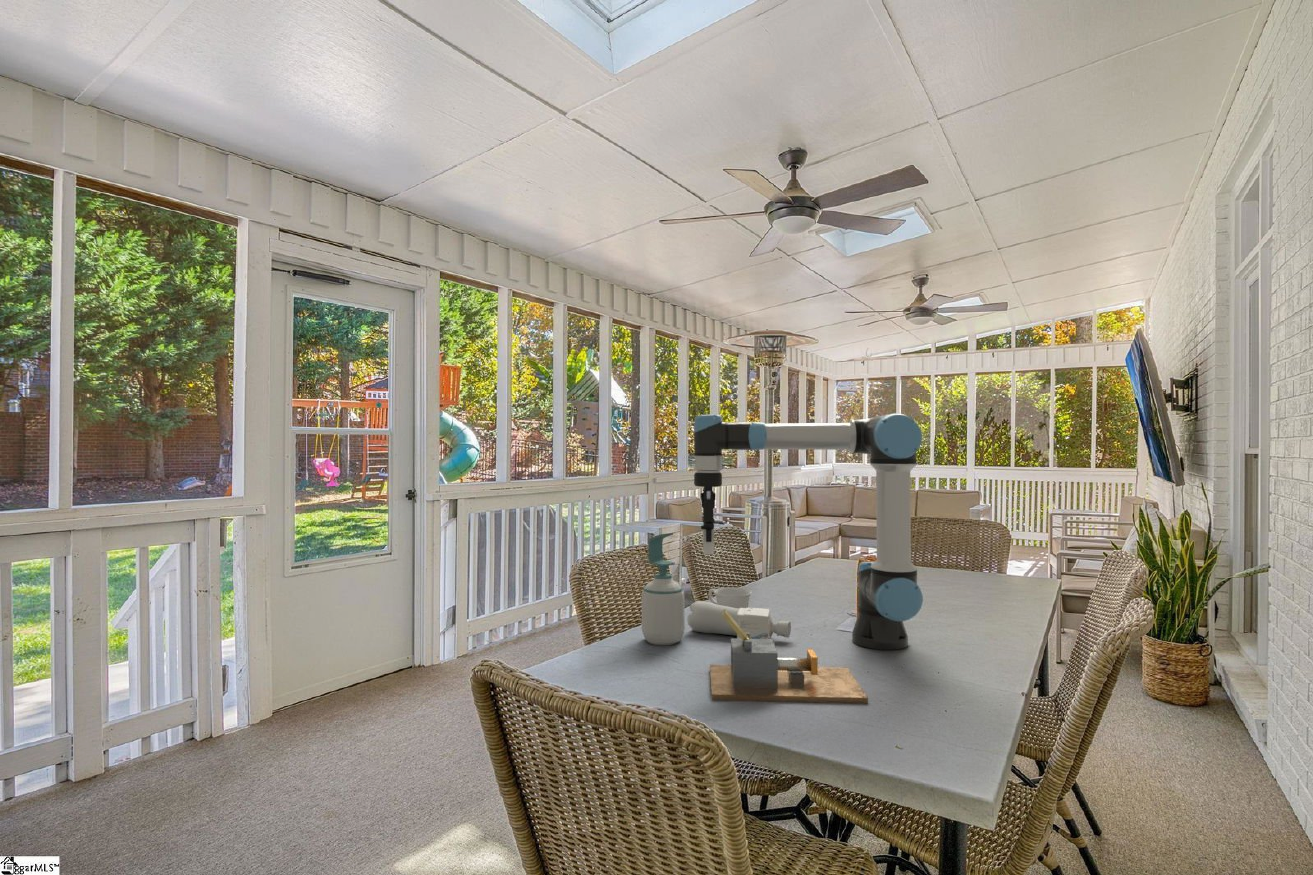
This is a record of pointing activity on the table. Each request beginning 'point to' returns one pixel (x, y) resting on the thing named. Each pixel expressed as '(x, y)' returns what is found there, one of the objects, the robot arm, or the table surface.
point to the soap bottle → (662, 600)
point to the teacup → (731, 597)
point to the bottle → (712, 621)
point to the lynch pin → (800, 663)
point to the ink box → (754, 622)
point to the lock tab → (734, 625)
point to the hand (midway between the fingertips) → (708, 550)
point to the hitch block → (778, 678)
